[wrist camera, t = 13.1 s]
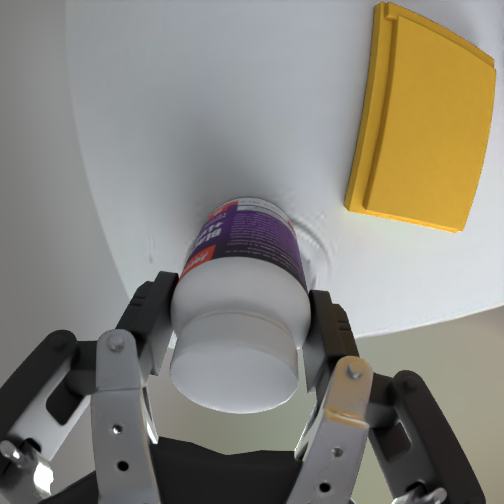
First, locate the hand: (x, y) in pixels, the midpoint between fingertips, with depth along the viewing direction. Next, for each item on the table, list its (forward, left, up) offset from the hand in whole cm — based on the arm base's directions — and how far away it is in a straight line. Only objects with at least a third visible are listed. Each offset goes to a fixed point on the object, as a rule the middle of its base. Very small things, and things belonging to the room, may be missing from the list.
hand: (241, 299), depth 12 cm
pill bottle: (0, 0, -6) cm, 6 cm away
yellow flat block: (+9, +9, -5) cm, 14 cm away
